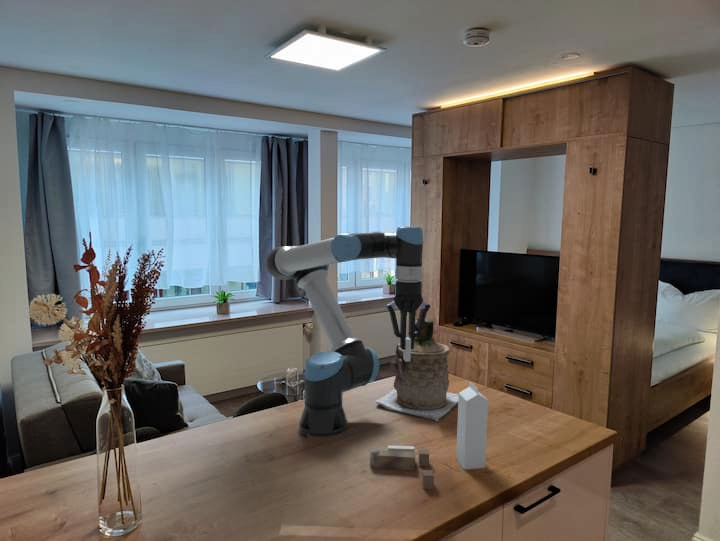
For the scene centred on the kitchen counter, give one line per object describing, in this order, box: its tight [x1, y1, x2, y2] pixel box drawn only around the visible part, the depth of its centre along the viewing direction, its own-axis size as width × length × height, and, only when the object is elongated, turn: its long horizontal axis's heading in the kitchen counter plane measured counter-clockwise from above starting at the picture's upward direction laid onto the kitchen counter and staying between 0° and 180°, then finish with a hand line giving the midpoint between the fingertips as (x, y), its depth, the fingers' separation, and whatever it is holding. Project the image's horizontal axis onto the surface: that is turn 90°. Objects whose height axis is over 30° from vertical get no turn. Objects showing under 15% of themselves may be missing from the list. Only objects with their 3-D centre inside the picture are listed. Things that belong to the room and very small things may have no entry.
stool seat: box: [387, 445, 435, 490], centre depth 123 cm, size 17×15×5 cm
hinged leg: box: [369, 448, 416, 472], centre depth 126 cm, size 12×3×4 cm, turn 84°
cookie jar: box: [374, 316, 459, 422], centre depth 171 cm, size 25×25×32 cm
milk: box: [455, 381, 489, 470], centre depth 130 cm, size 6×6×22 cm
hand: (406, 359), depth 142 cm, fingers closed
